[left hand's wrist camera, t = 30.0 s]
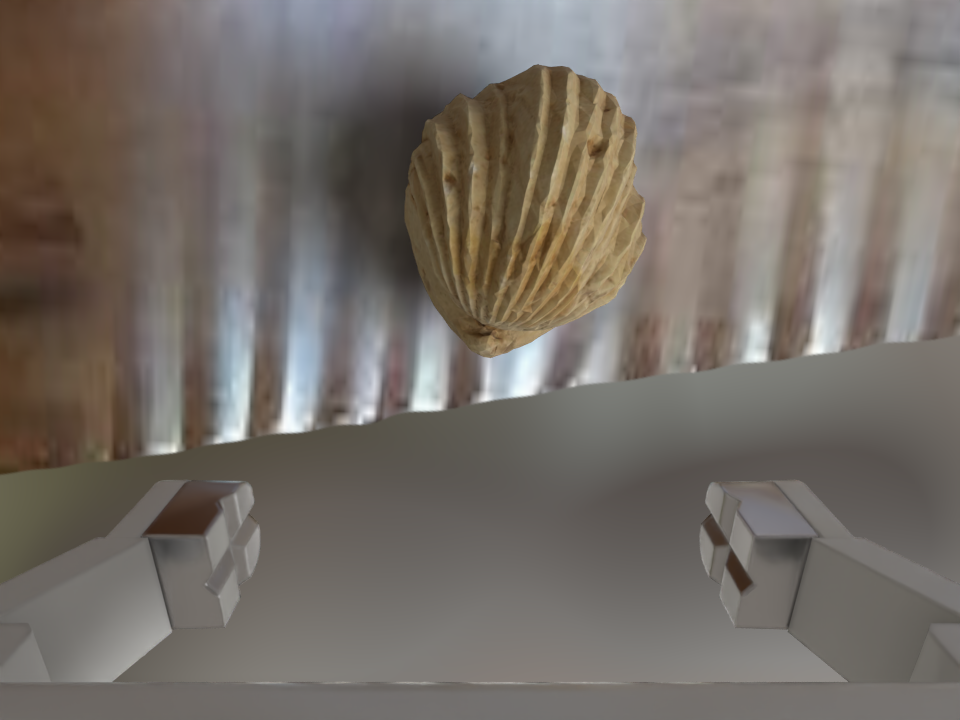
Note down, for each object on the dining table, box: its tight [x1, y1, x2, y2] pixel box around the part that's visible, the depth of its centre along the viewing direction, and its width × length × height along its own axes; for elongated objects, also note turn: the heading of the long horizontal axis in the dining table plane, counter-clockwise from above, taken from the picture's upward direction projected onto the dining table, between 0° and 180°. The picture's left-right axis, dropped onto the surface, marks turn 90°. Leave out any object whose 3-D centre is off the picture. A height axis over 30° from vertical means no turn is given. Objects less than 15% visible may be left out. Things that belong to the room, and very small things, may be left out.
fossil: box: [404, 65, 647, 358], centre depth 35 cm, size 15×17×15 cm
